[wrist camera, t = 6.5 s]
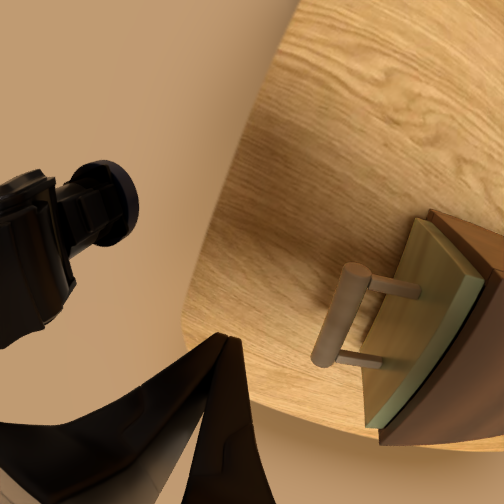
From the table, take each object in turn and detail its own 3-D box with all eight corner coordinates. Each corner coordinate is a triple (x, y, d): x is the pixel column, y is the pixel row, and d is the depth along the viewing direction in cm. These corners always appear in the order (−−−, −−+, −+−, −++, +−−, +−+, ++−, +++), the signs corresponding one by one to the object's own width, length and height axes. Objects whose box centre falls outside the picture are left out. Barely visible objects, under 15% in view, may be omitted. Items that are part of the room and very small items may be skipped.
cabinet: (369, 349, 20) (378, 445, 12) (429, 208, 15) (502, 278, 7) (486, 363, 18) (513, 432, 11) (546, 256, 13) (603, 314, 5)
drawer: (304, 339, 19) (295, 419, 13) (348, 198, 15) (369, 249, 9) (478, 364, 17) (500, 423, 11) (536, 261, 13) (584, 311, 7)
